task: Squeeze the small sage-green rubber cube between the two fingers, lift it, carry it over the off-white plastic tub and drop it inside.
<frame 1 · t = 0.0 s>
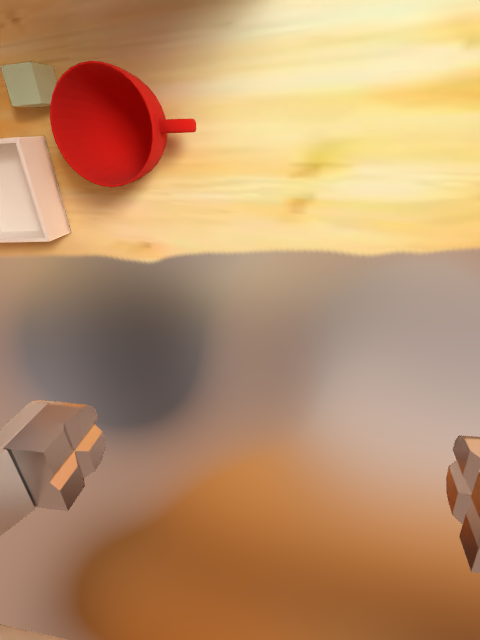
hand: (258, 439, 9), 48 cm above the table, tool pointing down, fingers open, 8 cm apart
sage cube: (44, 87, 52), on the table
tub: (19, 189, 60), on the table
ceramic cup: (152, 127, 52), on the table
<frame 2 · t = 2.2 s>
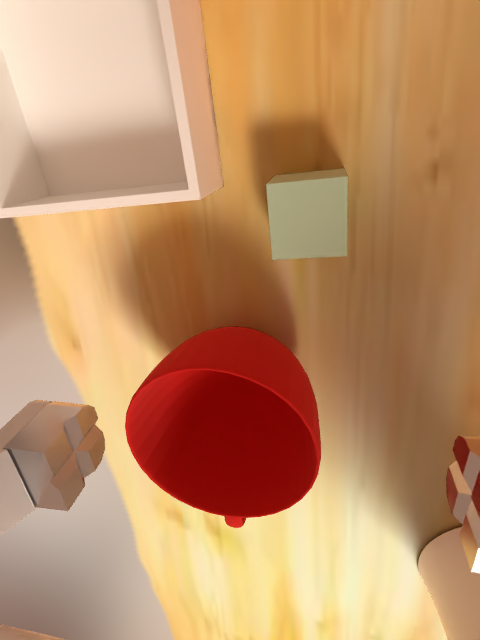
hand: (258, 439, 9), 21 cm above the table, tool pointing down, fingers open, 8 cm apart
sage cube: (310, 206, 26), on the table
tub: (106, 84, 25), on the table
ceramic cup: (248, 381, 34), on the table
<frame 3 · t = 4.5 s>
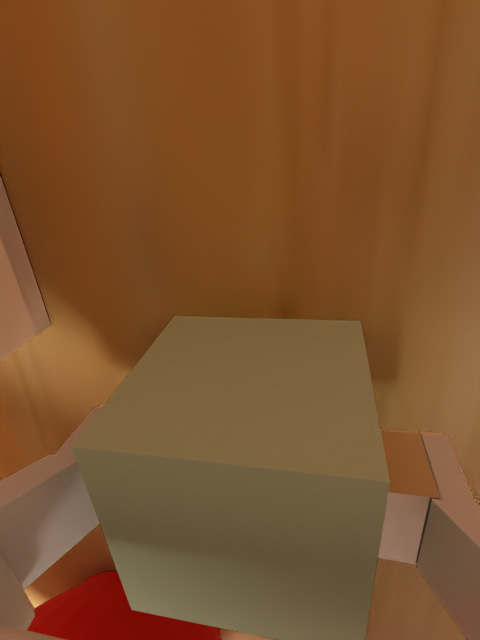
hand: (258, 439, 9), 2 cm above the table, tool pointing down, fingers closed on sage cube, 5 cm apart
sage cube: (266, 391, 10), on the table, touching gripper
ceramic cup: (156, 631, 18), on the table
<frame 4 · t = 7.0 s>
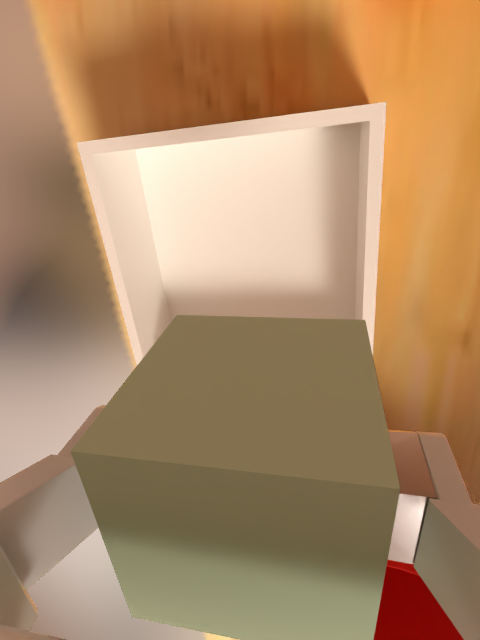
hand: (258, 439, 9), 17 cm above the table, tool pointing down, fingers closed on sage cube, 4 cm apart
sage cube: (269, 393, 10), point 16 cm above the table, touching gripper
tub: (252, 246, 25), on the table
ceramic cup: (354, 504, 34), on the table
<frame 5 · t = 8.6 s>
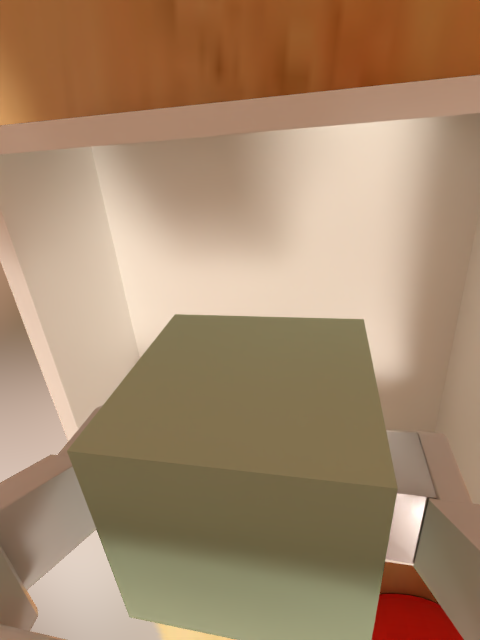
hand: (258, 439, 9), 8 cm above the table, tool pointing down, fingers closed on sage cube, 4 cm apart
sage cube: (267, 392, 10), point 6 cm above the table, touching gripper
tub: (280, 306, 15), on the table
ceramic cup: (396, 635, 25), on the table
when the fingers open (5 cm above the table, at t = 9.5 s): sage cube drops 2 cm, resting on tub.
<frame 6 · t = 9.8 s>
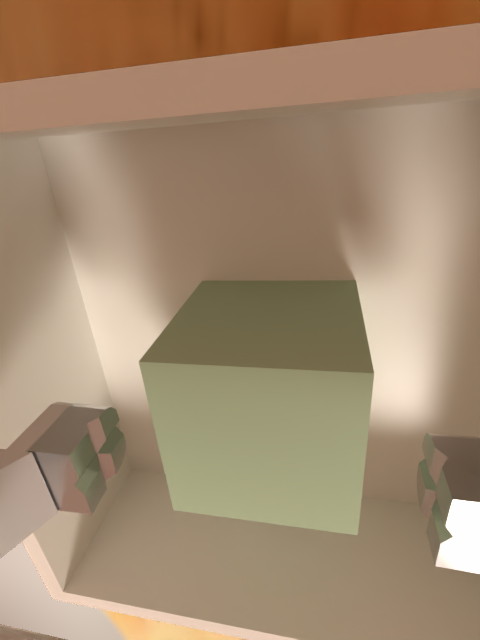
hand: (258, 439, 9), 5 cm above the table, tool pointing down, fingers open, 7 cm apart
sage cube: (278, 346, 12), point 1 cm above the table, touching tub
tub: (278, 338, 13), on the table
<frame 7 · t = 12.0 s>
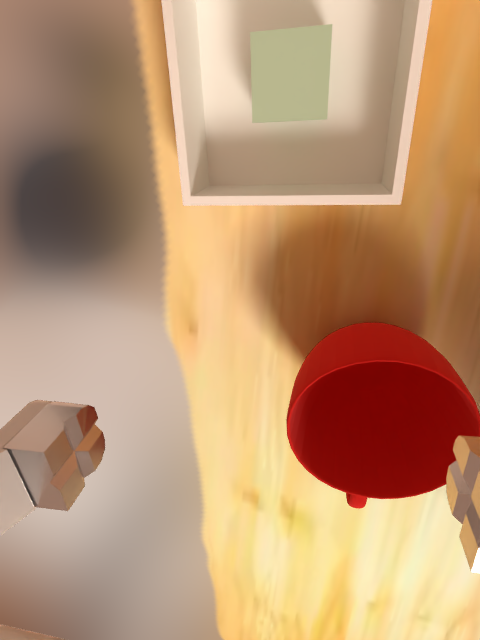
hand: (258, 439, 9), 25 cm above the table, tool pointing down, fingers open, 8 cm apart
sage cube: (294, 83, 26), point 1 cm above the table, touching tub
tub: (294, 85, 26), on the table
ceramic cup: (361, 374, 36), on the table
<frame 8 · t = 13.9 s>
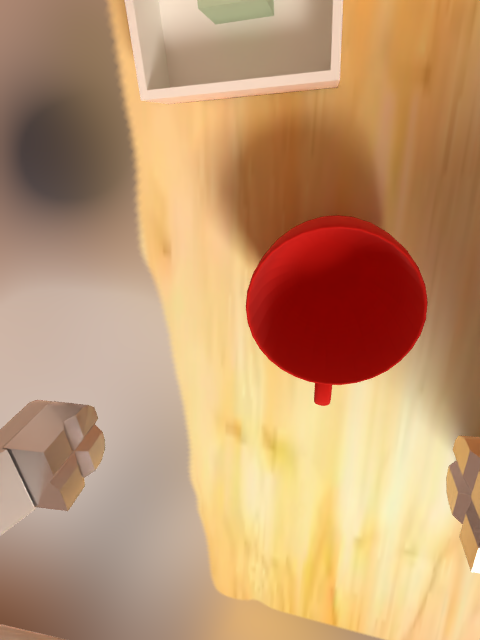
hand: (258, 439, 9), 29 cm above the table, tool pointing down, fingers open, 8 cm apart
ceramic cup: (328, 286, 37), on the table
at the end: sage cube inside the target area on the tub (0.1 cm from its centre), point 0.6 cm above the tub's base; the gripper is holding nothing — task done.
